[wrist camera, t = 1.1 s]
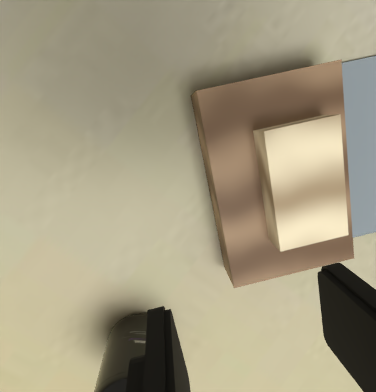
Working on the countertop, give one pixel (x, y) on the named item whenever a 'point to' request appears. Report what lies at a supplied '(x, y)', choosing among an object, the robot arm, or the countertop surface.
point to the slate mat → (361, 141)
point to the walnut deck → (249, 172)
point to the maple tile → (303, 181)
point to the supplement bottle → (121, 353)
